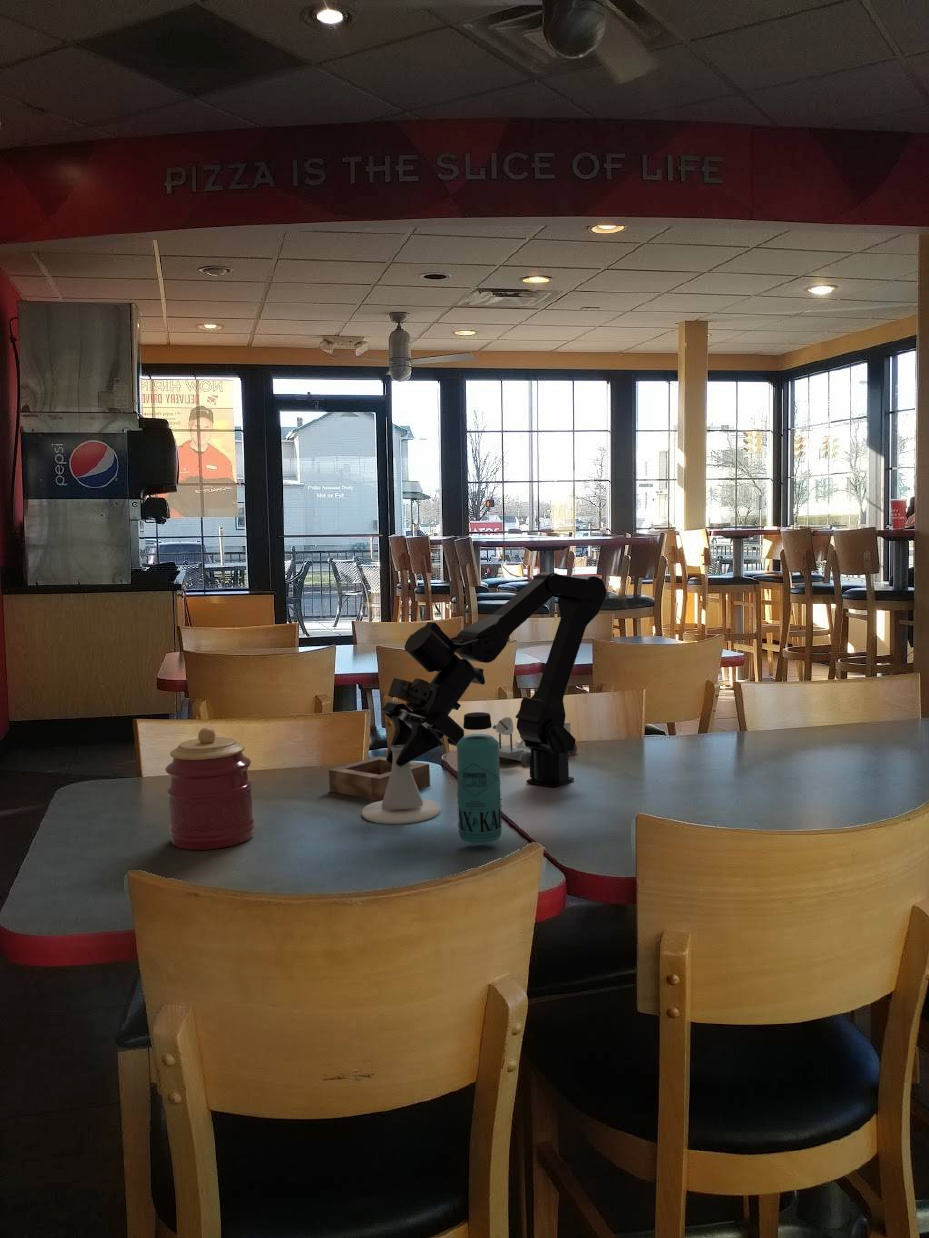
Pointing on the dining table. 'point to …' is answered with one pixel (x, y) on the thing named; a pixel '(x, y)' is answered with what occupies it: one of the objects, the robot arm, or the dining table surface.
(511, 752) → the toy car
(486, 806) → the beverage bottle
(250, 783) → the canister
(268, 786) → the dining table surface
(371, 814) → the ceramic plate
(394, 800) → the flask
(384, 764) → the walnut collar
